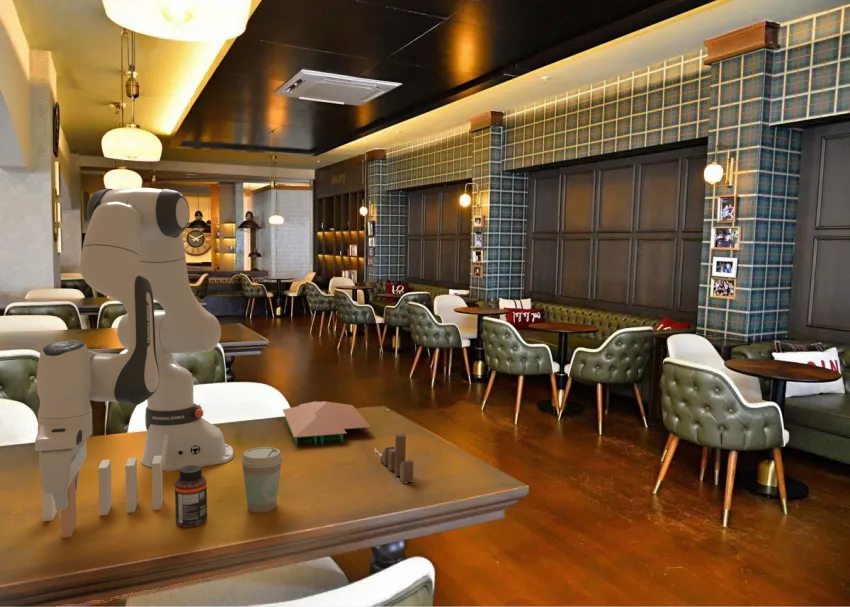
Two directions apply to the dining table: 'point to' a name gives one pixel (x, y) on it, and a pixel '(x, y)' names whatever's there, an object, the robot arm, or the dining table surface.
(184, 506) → the supplement bottle
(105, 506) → the domino
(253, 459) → the coffee cup
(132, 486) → the domino
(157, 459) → the domino
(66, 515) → the domino
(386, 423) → the dining table surface
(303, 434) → the house
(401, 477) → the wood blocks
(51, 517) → the domino end
